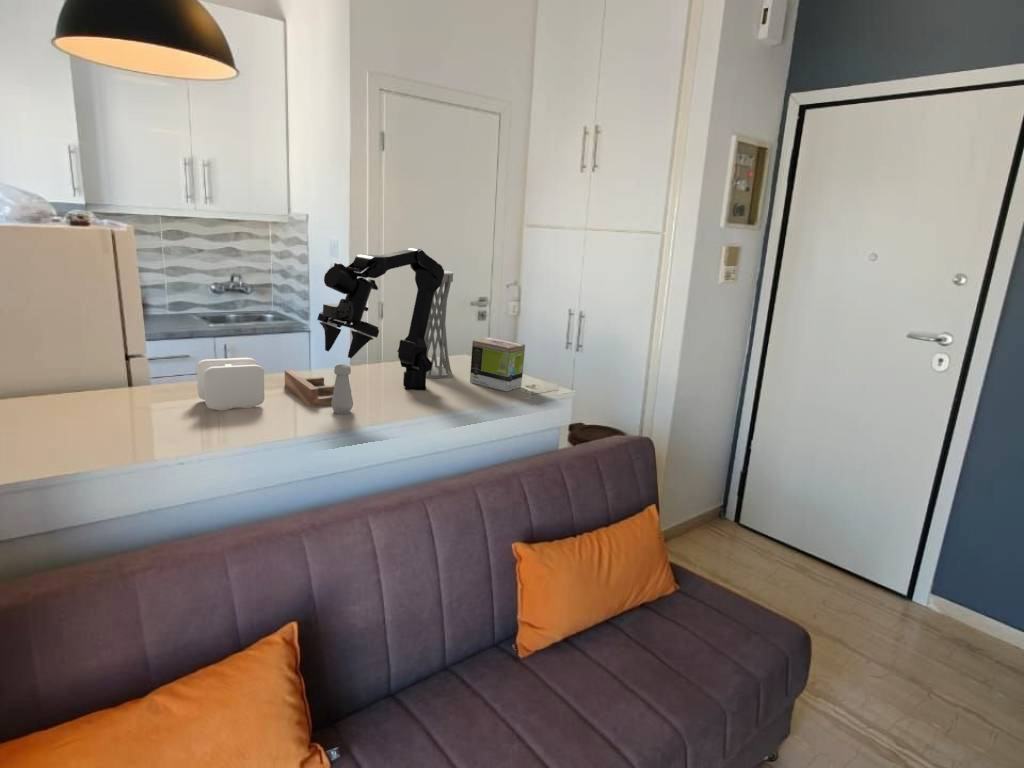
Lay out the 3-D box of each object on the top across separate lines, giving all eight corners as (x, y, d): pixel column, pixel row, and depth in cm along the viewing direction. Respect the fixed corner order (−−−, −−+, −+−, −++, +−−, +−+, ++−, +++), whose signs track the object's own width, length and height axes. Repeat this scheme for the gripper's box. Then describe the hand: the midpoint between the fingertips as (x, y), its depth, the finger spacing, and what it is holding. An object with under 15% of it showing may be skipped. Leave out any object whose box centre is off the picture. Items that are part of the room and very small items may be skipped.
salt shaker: (357, 411, 168) (358, 365, 165) (343, 416, 163) (344, 369, 160) (340, 407, 170) (341, 361, 167) (326, 412, 165) (326, 365, 162)
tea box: (522, 387, 207) (526, 344, 203) (505, 392, 198) (510, 348, 194) (485, 377, 214) (489, 335, 210) (468, 382, 206) (471, 339, 202)
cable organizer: (202, 412, 157) (200, 368, 154) (197, 400, 165) (195, 358, 162) (264, 407, 165) (263, 365, 162) (257, 396, 173) (256, 356, 170)
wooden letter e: (322, 382, 190) (322, 367, 189) (350, 401, 175) (350, 385, 174) (284, 386, 183) (284, 370, 182) (310, 406, 168) (311, 389, 167)
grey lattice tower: (411, 367, 218) (416, 267, 208) (449, 368, 221) (455, 270, 212) (415, 378, 205) (420, 272, 196) (454, 378, 209) (461, 275, 199)
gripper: (311, 284, 165) (292, 339, 164) (358, 295, 155) (339, 353, 154) (341, 298, 175) (324, 350, 174) (388, 308, 165) (369, 364, 164)
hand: (338, 354), depth 166 cm, fingers open, 9 cm apart
